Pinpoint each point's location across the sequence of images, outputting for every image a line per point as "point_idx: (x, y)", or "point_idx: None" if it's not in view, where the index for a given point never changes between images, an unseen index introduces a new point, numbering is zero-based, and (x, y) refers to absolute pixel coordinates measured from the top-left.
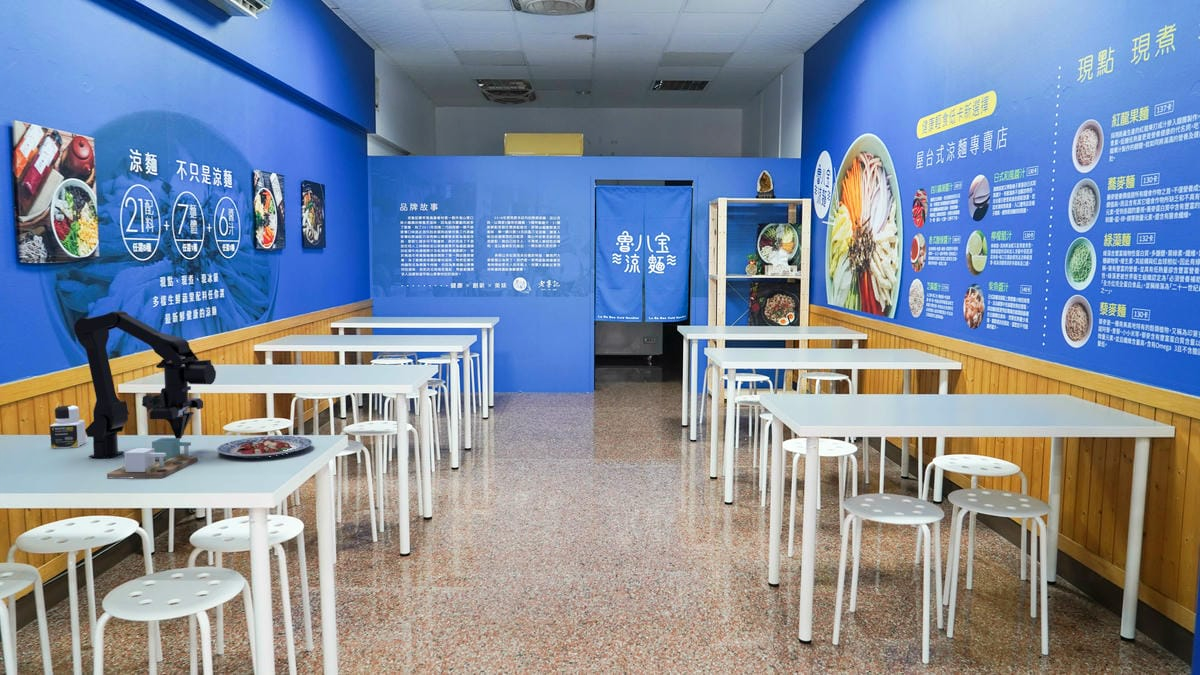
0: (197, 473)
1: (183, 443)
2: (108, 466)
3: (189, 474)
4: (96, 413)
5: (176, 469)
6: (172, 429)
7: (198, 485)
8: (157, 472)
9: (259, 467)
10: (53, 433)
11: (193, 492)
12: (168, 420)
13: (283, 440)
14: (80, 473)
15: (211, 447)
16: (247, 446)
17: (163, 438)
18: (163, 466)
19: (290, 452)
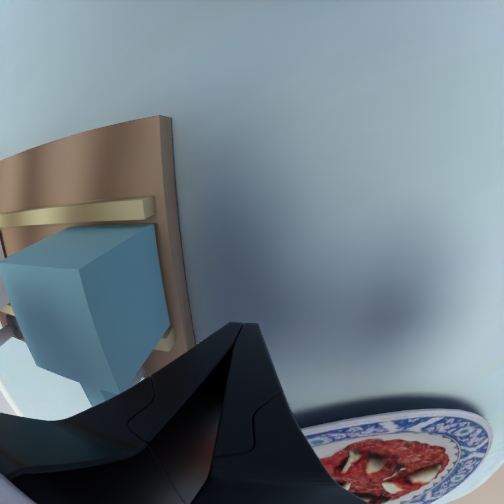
0: (73, 395)
1: (93, 405)
2: (73, 28)
3: (59, 380)
4: None
5: None
6: (161, 370)
7: (28, 400)
8: (5, 319)
9: None
10: None
11: (10, 395)
12: (44, 434)
13: (441, 480)
14: (8, 38)
15: (491, 314)
16: (343, 478)
17: (71, 294)
18: (9, 337)
19: None
